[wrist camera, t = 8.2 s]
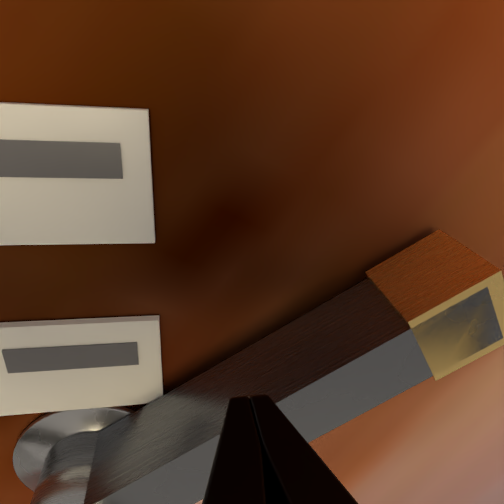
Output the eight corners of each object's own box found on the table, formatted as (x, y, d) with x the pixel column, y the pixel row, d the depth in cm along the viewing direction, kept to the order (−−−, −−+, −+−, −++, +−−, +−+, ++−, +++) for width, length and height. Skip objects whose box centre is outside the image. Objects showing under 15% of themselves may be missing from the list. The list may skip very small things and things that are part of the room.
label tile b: (-53, 241, 12) (-60, 247, 11) (-98, 97, 10) (-108, 99, 9) (155, 239, 13) (154, 244, 12) (148, 108, 11) (147, 110, 10)
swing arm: (87, 500, 17) (67, 597, 14) (24, 461, 15) (-14, 562, 12) (461, 292, 15) (532, 352, 12) (437, 222, 14) (512, 271, 11)
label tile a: (0, 409, 15) (-4, 418, 14) (-27, 323, 13) (-32, 330, 13) (163, 396, 16) (163, 403, 15) (159, 315, 14) (158, 321, 14)
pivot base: (30, 505, 17) (28, 512, 17) (0, 409, 15) (-3, 416, 14) (168, 488, 18) (168, 495, 18) (163, 396, 16) (163, 402, 15)
